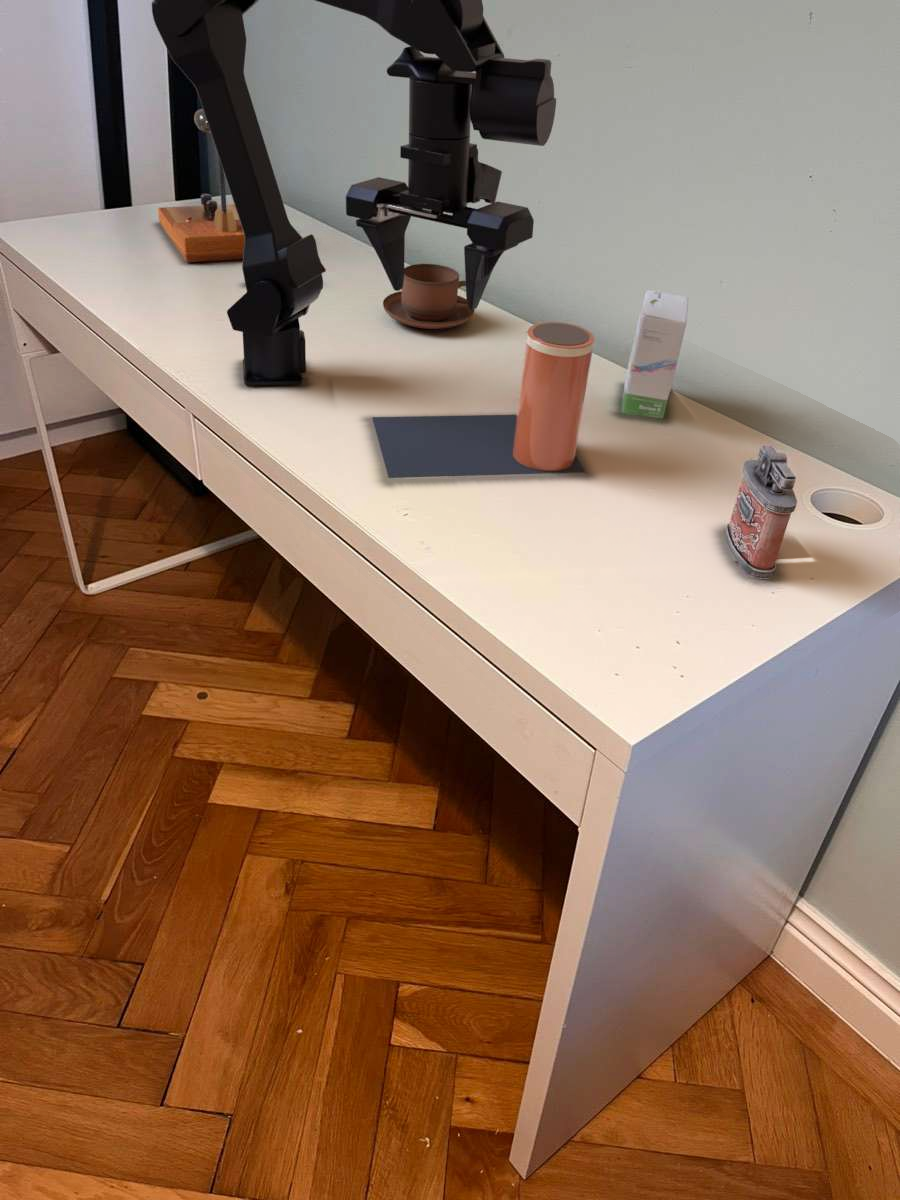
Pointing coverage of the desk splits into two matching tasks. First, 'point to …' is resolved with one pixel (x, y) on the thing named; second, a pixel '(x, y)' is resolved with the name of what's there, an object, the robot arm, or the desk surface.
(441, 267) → the cup and saucer
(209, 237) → the wooden scientific apparatus
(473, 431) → the felt mat
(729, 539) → the lighter
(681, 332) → the ink box
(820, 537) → the desk surface
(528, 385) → the pen pot
